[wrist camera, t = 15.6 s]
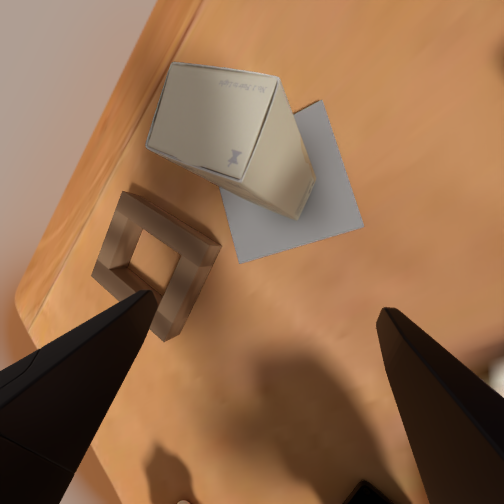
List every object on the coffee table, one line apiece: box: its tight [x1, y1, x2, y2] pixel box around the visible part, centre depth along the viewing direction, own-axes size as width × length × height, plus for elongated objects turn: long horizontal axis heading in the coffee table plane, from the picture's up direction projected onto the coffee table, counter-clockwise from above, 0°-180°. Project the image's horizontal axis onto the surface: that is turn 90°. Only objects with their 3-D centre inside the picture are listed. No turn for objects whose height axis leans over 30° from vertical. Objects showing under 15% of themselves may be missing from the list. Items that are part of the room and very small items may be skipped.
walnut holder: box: [91, 191, 222, 342], centre depth 26 cm, size 12×14×2 cm
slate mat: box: [219, 100, 364, 264], centre depth 21 cm, size 12×12×1 cm
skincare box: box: [145, 62, 316, 221], centre depth 15 cm, size 6×4×12 cm
